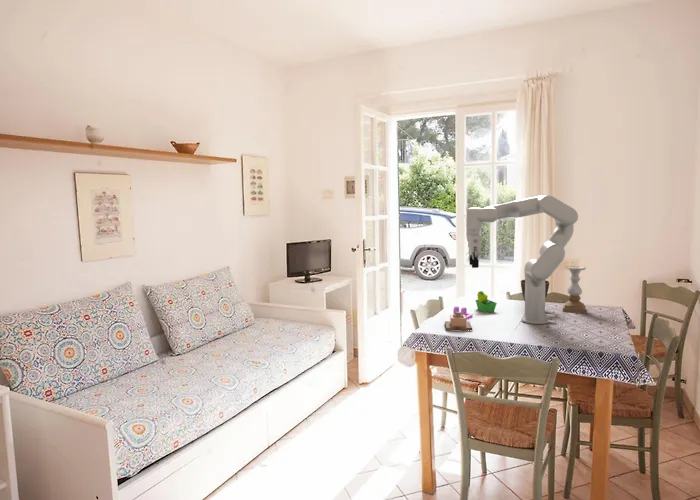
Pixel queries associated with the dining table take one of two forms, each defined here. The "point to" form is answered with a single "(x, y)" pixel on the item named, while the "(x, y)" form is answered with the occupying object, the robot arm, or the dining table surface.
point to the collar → (458, 320)
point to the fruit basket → (485, 303)
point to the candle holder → (574, 292)
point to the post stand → (449, 327)
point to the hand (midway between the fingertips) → (473, 266)
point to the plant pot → (524, 288)
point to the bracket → (462, 312)
